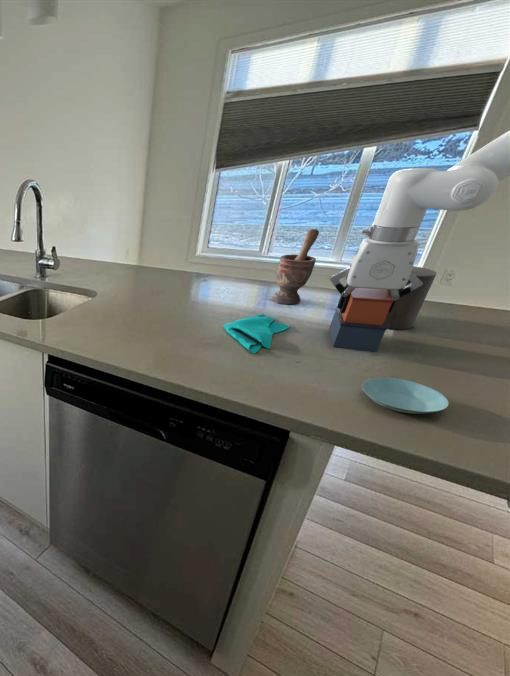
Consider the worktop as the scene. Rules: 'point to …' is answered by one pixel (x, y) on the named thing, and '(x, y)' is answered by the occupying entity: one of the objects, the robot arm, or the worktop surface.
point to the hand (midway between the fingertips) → (361, 312)
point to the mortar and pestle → (295, 271)
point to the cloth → (255, 331)
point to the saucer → (404, 396)
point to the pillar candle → (410, 301)
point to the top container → (368, 306)
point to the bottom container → (355, 334)
